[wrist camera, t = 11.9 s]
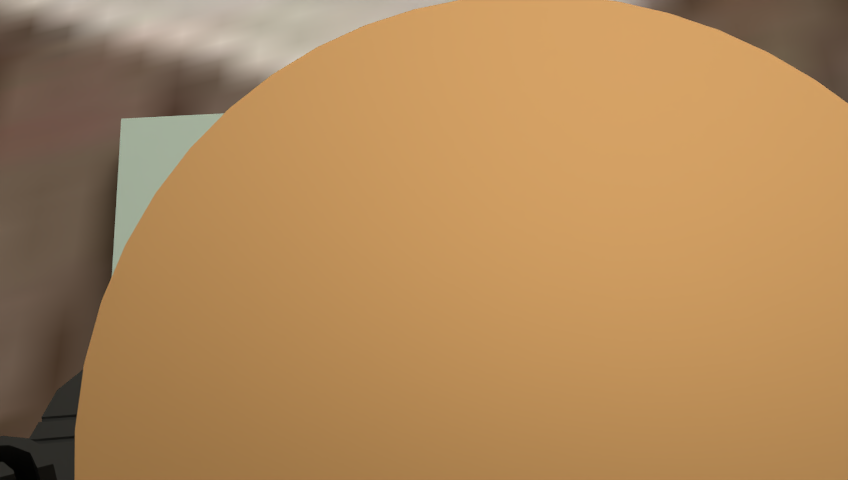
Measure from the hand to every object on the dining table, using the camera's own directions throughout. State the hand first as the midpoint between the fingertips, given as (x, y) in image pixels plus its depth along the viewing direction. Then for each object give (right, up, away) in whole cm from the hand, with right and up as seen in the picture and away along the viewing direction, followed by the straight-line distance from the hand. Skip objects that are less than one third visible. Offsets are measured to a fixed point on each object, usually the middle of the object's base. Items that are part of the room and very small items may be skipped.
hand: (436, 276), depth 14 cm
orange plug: (0, -5, +2) cm, 6 cm away
